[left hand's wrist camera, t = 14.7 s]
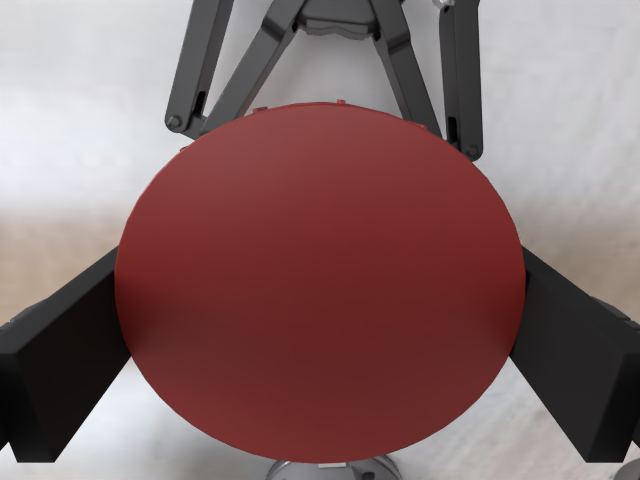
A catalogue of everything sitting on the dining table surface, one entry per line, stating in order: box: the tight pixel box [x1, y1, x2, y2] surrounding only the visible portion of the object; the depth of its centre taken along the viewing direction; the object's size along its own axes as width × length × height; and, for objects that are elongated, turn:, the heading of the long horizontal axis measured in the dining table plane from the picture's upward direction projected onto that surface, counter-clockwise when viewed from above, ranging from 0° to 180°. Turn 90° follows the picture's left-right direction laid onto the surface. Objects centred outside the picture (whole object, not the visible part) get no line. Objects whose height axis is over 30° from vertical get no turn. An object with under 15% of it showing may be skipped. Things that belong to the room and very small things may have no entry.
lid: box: [114, 100, 526, 464], centre depth 11 cm, size 11×11×2 cm
